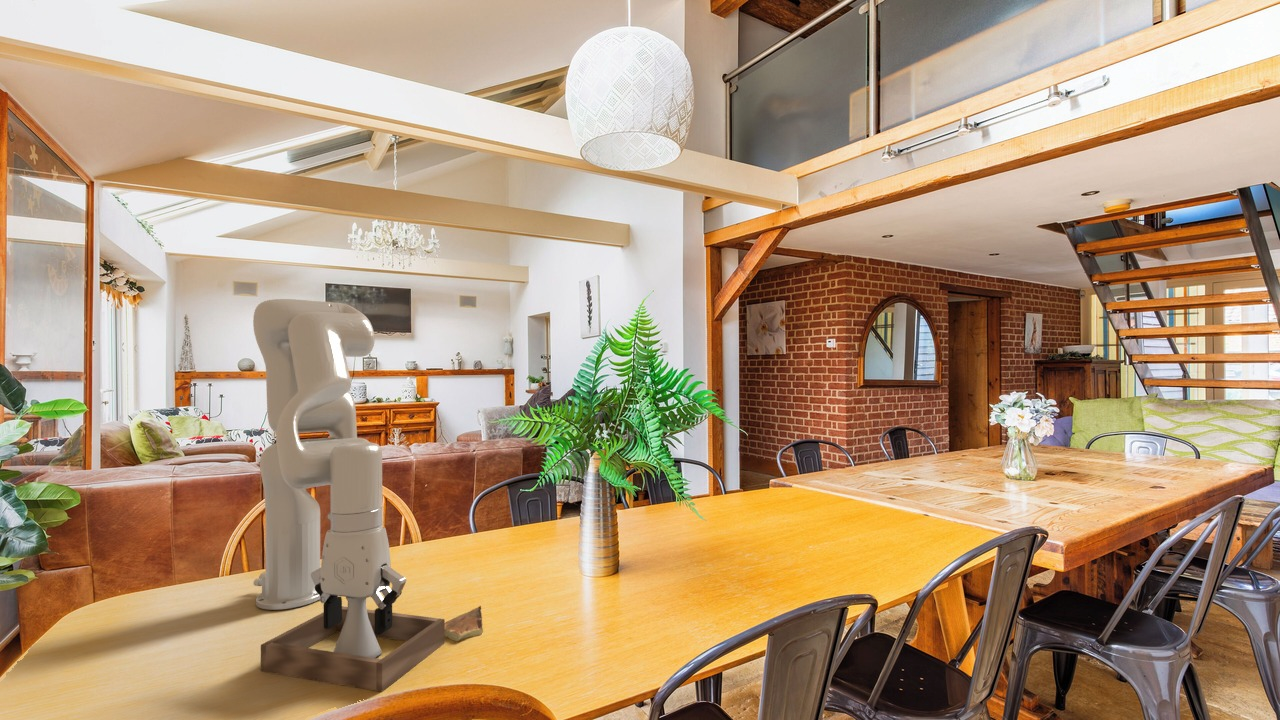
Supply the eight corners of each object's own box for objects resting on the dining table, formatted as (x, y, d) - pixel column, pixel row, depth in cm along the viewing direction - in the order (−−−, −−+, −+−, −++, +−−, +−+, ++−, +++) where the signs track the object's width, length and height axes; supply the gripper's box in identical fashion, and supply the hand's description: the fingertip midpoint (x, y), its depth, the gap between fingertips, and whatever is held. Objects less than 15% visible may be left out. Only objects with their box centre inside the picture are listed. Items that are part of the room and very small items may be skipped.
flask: (345, 673, 88) (345, 607, 88) (322, 659, 92) (322, 596, 92) (390, 654, 93) (390, 592, 93) (367, 641, 98) (367, 582, 98)
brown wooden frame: (260, 671, 88) (260, 644, 88) (336, 628, 103) (336, 605, 103) (382, 691, 82) (382, 663, 83) (444, 643, 97) (444, 619, 97)
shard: (480, 613, 110) (480, 603, 110) (510, 622, 106) (509, 612, 106) (433, 636, 101) (433, 625, 101) (463, 647, 97) (463, 636, 97)
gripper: (294, 523, 91) (294, 633, 91) (386, 529, 87) (387, 644, 86) (331, 512, 99) (331, 613, 98) (418, 517, 94) (419, 623, 94)
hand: (357, 628), depth 92 cm, fingers open, 9 cm apart
